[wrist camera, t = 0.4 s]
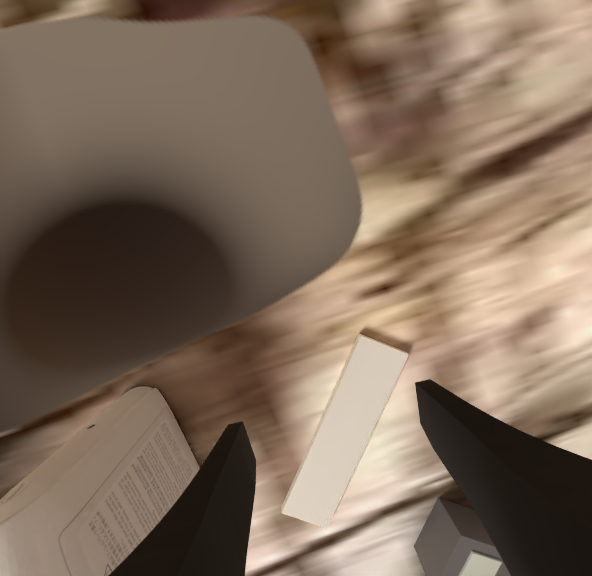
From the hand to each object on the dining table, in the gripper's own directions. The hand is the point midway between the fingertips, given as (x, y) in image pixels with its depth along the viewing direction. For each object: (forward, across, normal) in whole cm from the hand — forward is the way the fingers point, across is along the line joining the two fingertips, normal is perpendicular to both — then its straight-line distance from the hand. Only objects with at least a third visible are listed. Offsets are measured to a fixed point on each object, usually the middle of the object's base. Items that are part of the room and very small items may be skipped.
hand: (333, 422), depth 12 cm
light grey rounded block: (+10, +14, +7) cm, 18 cm away
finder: (+8, -9, +22) cm, 25 cm away
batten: (+9, 0, +9) cm, 13 cm away
